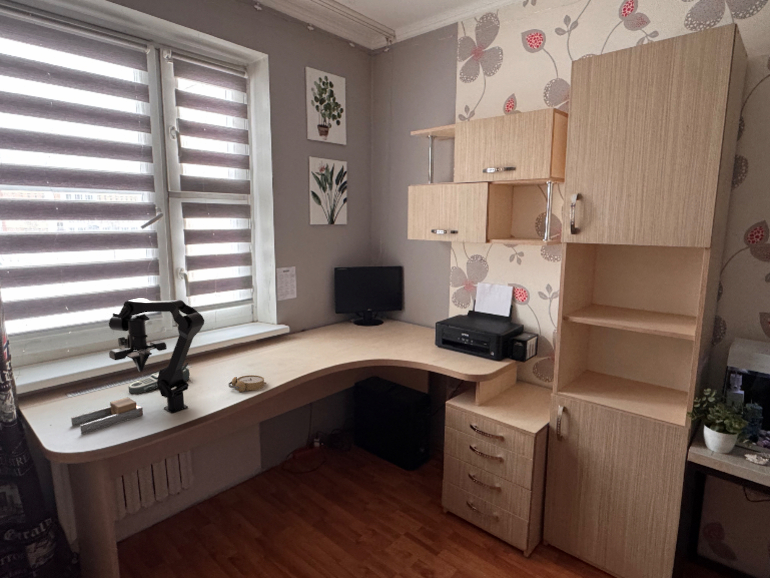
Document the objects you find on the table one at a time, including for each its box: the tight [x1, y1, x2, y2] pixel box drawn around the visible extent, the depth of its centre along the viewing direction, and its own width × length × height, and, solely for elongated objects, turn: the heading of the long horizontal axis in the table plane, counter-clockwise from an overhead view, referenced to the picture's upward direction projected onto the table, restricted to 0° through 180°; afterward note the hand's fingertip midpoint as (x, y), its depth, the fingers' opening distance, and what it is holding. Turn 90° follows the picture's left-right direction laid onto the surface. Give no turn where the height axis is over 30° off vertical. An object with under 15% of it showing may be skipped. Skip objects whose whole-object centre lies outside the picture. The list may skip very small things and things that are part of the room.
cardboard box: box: [109, 396, 138, 416], centre depth 166 cm, size 7×6×5 cm
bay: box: [70, 404, 144, 435], centre depth 162 cm, size 10×20×3 cm, turn 140°
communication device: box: [127, 362, 191, 395], centre depth 195 cm, size 12×24×9 cm, turn 139°
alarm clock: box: [228, 374, 267, 393], centre depth 193 cm, size 11×5×15 cm
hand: (140, 371), depth 174 cm, fingers closed
